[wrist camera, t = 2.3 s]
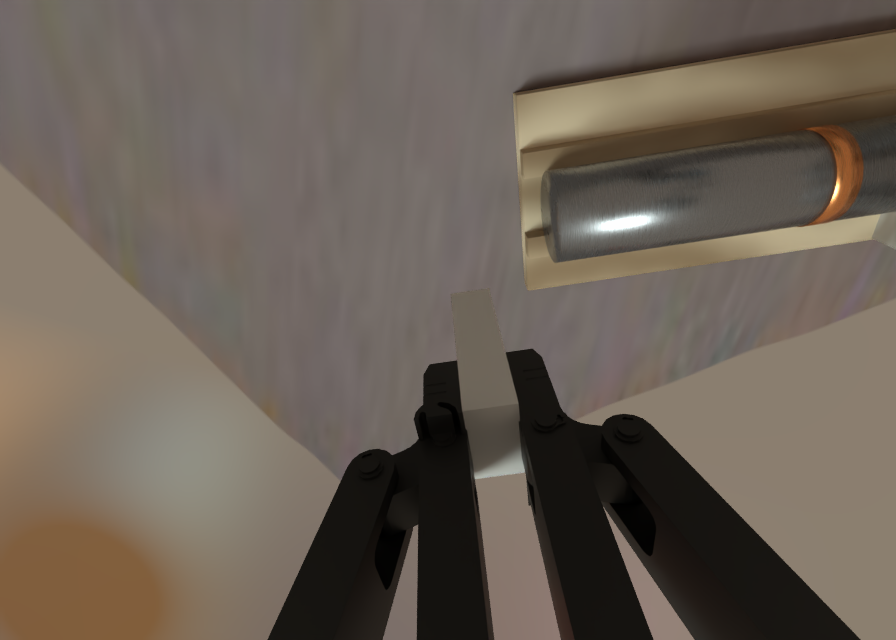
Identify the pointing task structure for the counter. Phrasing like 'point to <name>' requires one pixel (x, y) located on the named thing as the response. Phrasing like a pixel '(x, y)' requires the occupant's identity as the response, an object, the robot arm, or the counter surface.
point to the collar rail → (699, 139)
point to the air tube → (720, 190)
